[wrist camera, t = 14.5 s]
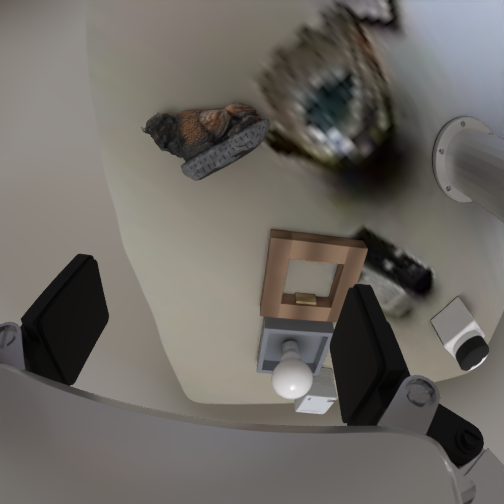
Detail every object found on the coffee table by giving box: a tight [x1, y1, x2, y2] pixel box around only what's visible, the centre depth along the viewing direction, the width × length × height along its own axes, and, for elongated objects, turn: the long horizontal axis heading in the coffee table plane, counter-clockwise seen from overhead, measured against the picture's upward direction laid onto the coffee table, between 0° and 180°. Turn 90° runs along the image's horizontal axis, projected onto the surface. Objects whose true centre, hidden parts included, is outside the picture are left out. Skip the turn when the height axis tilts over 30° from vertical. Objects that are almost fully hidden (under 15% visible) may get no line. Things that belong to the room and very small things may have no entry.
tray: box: [257, 317, 334, 376], centre depth 49 cm, size 11×11×3 cm
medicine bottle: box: [431, 297, 489, 371], centre depth 41 cm, size 7×7×12 cm
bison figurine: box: [141, 103, 270, 181], centre depth 31 cm, size 12×7×10 cm
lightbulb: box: [271, 341, 313, 399], centre depth 45 cm, size 6×6×11 cm
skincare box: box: [294, 368, 337, 414], centre depth 52 cm, size 6×6×7 cm
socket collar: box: [260, 229, 368, 322], centre depth 42 cm, size 13×13×2 cm
